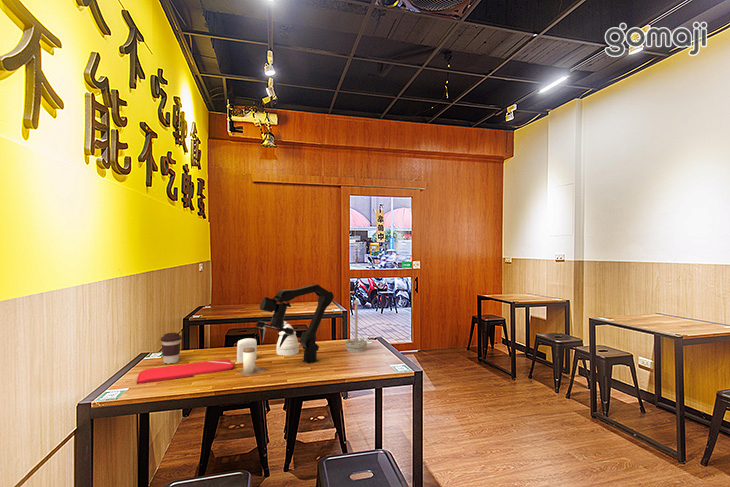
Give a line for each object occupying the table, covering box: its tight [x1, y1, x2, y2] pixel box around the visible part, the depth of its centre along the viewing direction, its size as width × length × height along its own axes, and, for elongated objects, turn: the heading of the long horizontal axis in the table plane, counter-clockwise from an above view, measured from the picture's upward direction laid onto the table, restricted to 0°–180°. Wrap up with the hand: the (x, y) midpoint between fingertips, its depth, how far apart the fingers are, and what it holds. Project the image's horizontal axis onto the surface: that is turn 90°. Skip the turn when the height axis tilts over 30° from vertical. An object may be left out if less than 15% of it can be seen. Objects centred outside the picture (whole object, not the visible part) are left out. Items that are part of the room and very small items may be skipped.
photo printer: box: [236, 337, 258, 363], centre depth 200 cm, size 10×4×12 cm, turn 123°
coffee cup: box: [160, 332, 183, 365], centre depth 200 cm, size 10×10×15 cm
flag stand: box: [344, 299, 368, 353], centre depth 225 cm, size 13×13×30 cm
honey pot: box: [275, 320, 300, 357], centre depth 219 cm, size 13×13×18 cm
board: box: [235, 365, 269, 377], centre depth 182 cm, size 12×10×1 cm
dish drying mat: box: [136, 358, 235, 385], centre depth 181 cm, size 16×41×4 cm, turn 116°
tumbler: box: [242, 347, 256, 374], centre depth 181 cm, size 6×6×11 cm
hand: (270, 345), depth 188 cm, fingers open, 9 cm apart
